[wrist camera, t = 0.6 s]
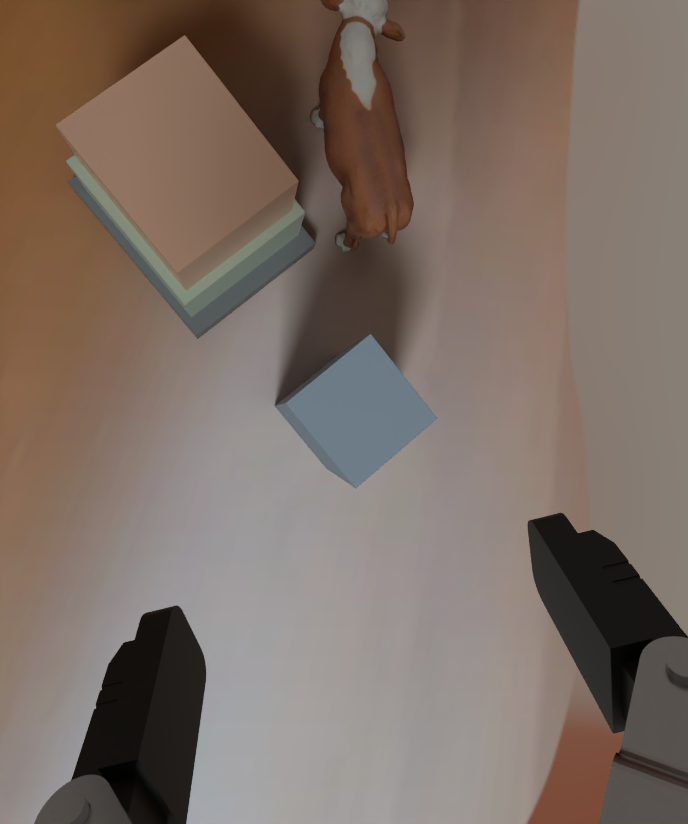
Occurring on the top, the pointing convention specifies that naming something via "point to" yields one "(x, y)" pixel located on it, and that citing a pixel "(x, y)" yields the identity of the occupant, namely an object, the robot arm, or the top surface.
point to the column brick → (356, 411)
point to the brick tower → (187, 185)
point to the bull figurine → (363, 126)
